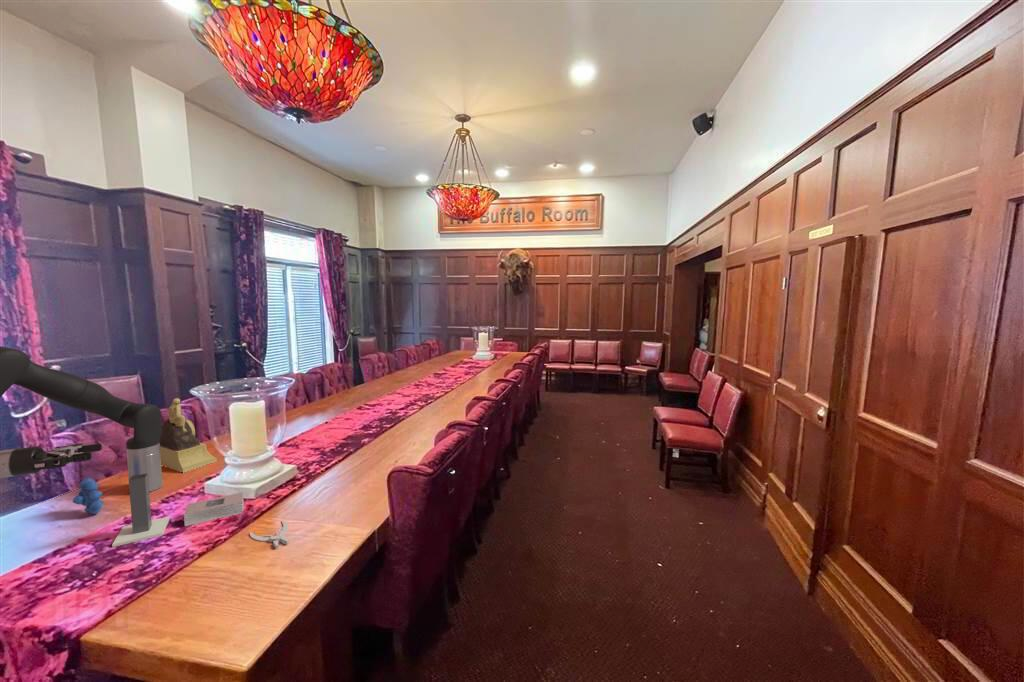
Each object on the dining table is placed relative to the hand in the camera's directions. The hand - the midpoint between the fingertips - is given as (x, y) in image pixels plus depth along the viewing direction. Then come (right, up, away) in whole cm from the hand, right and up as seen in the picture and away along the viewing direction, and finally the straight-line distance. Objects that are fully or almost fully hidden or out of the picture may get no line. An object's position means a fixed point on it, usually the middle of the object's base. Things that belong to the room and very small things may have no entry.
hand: (96, 451), depth 117 cm
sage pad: (+12, -26, +3) cm, 29 cm away
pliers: (+54, -27, +1) cm, 60 cm away
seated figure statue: (-23, -22, +57) cm, 65 cm away
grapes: (-17, -25, +13) cm, 33 cm away
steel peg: (+12, -25, +3) cm, 28 cm away
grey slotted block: (+26, -25, +13) cm, 39 cm away
